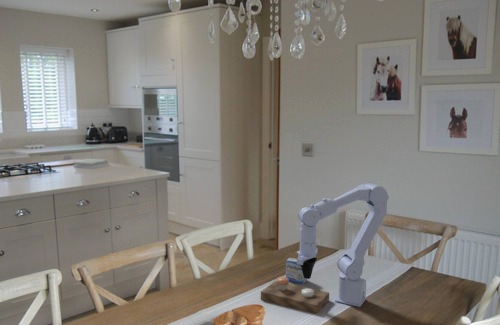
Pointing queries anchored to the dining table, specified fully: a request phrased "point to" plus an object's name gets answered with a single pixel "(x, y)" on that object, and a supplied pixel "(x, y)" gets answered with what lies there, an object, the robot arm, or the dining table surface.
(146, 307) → the dining table surface
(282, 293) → the board
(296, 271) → the medicine box
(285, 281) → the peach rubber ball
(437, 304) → the dining table surface
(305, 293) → the white egg
